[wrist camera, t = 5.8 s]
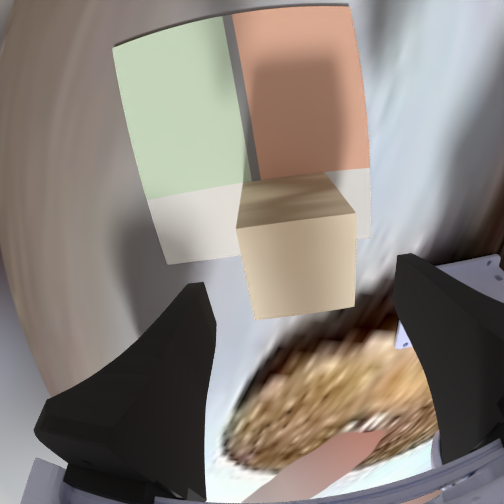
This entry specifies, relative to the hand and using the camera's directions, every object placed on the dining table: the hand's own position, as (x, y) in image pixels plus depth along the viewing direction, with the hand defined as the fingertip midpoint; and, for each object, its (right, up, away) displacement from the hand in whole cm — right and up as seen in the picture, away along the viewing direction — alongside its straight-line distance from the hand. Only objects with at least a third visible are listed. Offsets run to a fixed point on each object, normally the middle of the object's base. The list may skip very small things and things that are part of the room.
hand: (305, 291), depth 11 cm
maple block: (0, +4, +6) cm, 7 cm away
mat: (-2, +8, +4) cm, 9 cm away
